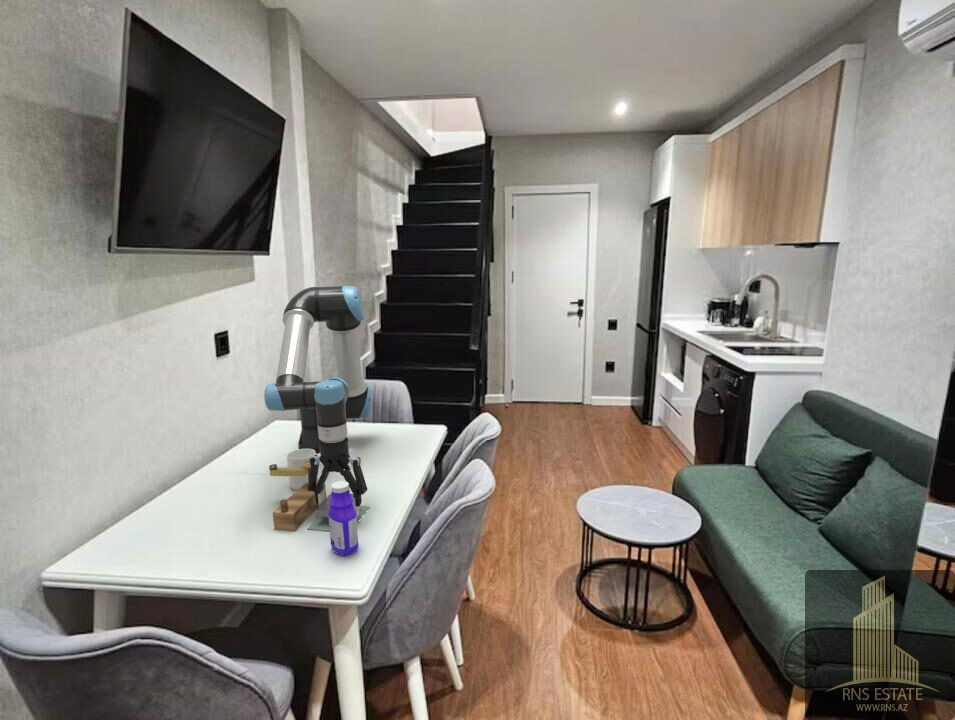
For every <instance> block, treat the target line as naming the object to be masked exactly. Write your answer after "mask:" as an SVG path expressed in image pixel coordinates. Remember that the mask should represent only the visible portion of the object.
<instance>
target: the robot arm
mask: <svg viewBox="0 0 955 720" xmlns="http://www.w3.org/2000/svg"><path fill="white" fill-rule="evenodd" d="M364 319H365V309H364V303H363V298H362V295H361V291H360V289H359V288H358V287H357V286H354V285H353V286H348V285H340V286H339V285H338V286H337V285H336V286H312V287H311V286H310V287H307V288H305V289H303V290H302V289H301V291H299V292H297V293H296V294H295V295H294V296H293V297H292V298H291V299H290V300H289V302H288V303H287V305H286V306H285V308H284V310H283V315H282V323H283V325H284V331H283V335H282V341H281V342H282V343H281V348H280V349H281V350H280V354H279V359H278V365H277V371H276V378H275V383H274V382H273V383H271V384H270V383H269V384H266V387H265V389H264V393H263V394H264V404H265V406H266V407H265V408H266V409H267V410H269V411H274V412H275V411H276V412H278V411H283V412H285V411H292V410H293V411H294V410H299V416H300V426H301V431H300V434H299V440H298V443H297V444H298V445H297V446H298V449H313V450H315V452H316V455H314V456H313V457H312V458H311V459H310V465H311V469H310V476H309V483H308V491H313V492H314V493H315V498H316V503H317V504H319V505H320V504H321V503H322V502H323V501H324V500H325V499H326V498H327V495H326V496H325V490H322V489H323V486H324V484H326V480H327V479H328V477H329V475H330V473H334V472H335V473H339V474H340V475H341V476H342V477H343V479H344V481H346V482H348V483H349V490H350V492H352V493H351V494H353V495H352V497H353V503H352V504H353V505H354V507H355V510H356V517H358V515H359V506H362V501H361V499H362V496H363V495H364V494H365V493H367V491H368V486H367V483H366V479H365V476H364V473H363V469H362V465H361V461H362V460H361V458H360V457H359V456H358V457H356V458H355V457H351V455H350V454H349V453H350V452H349V438H348V423H347V420H349V419H350V420H351V419H363V418H368V417H369V416H370V414H371V403H372V387H370V386H368V384H367V383H366V381H364V379H363V376H362V375H363V374H362V365H361V364H362V363H361V354H360V345H359V337H358V335H359V334H358V328H359V327H360V326H361V324H362V321H364ZM315 323H325V324H326V328H327V329H328V330H329V331H331V335H332V336H331V337H332V342H333V343H332V344H333V351H334V357H335V365H336V373H337V377H331V378H329V379H327V380H320V381H305V376H306V367H307V358H308V349H309V340H310V334H311V333H310V331H311V329H312V328H313V327H314V325H315ZM317 454H320V455H317ZM320 462H321V463H322V464H323V465H324V468H322V470H321V474H320V476H319V475H318V474H319V467H320V465H319V463H320ZM349 463H350V466H349ZM350 467H352V471H351V468H350ZM317 476H318V477H320V478H319V481H318V483H317ZM316 483H317V485H316ZM321 490H322V491H321Z"/></svg>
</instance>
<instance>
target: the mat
mask: <svg viewBox="0 0 955 720" xmlns="http://www.w3.org/2000/svg"><path fill="white" fill-rule="evenodd" d="M370 508H371V506H370V505H360V506H359V515H358V517H357V524H359V523H360V521H361V520H362V518H363V517H364V516H365V514H367V512H368V511H369V510H370ZM367 510H368V511H367ZM366 511H367V512H366ZM363 515H364V516H363ZM362 516H363V517H362ZM360 519H361V520H360ZM359 520H360V521H359ZM307 531H315V532H329V533H330V527H329V518H328V517H317V518H316V519H315V520H313V522H312V523H311V524H310V525H309V526H308V527H307Z"/></svg>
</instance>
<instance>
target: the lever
mask: <svg viewBox="0 0 955 720" xmlns="http://www.w3.org/2000/svg"><path fill="white" fill-rule="evenodd" d="M307 469H311V465H310V460H309V461H306V462H305V463H304V464H303V465H302V468H288V467H278V464H275V463H274V464H270V465H268V470H269V476H270V477H289V476H306V475H307V474H308V470H307Z"/></svg>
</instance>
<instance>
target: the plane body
mask: <svg viewBox="0 0 955 720" xmlns="http://www.w3.org/2000/svg"><path fill="white" fill-rule="evenodd" d="M307 470H308V481H309V476H310V469H307ZM316 485H317V483H316ZM326 488H327V487H326V483H324V486H323V489H322V490H325V496H326V497H327V490H326ZM322 490H321V491H322ZM279 503H280V505H279V506H278V507H277V508H275V509H274V510H273V511H272V519H273V530H276V531H289V532H296V531H297V530H298V529H299V528H300V526H301V525H303V524H304V523H305V522H306V521H307V519H309V518H310V517H311V516H312V515H313V514H314V513H315V509H316V508H317V507H318V506H319V504H317V503H316V498H315V493H314V492H313V491H308V483H306V484H304V485H303V486H302V487H301V488H300V489H299V490H295V491H294V493H293V494H292V495H290V496H289V497H288V498H284V499H281V500H280V501H279Z"/></svg>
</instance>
